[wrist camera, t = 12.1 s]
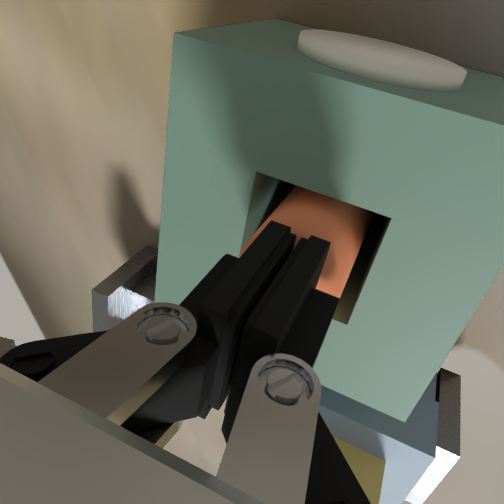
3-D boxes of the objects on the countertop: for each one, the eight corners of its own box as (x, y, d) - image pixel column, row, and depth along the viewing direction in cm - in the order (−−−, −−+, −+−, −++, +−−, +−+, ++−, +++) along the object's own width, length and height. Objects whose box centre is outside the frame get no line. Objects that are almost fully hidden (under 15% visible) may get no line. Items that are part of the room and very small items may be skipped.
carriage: (398, 429, 26) (362, 668, 17) (301, 385, 27) (220, 584, 18) (441, 360, 22) (426, 612, 13) (329, 314, 24) (245, 514, 15)
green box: (422, 294, 21) (404, 422, 15) (237, 224, 24) (153, 309, 17) (537, 72, 16) (589, 128, 9) (278, 7, 18) (175, 16, 11)
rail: (426, 425, 25) (419, 506, 21) (143, 299, 30) (93, 347, 26) (460, 375, 23) (460, 456, 19) (146, 245, 27) (91, 289, 23)
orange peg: (368, 228, 19) (323, 339, 13) (302, 204, 19) (229, 299, 13) (394, 162, 17) (356, 255, 11) (320, 138, 18) (246, 214, 12)
